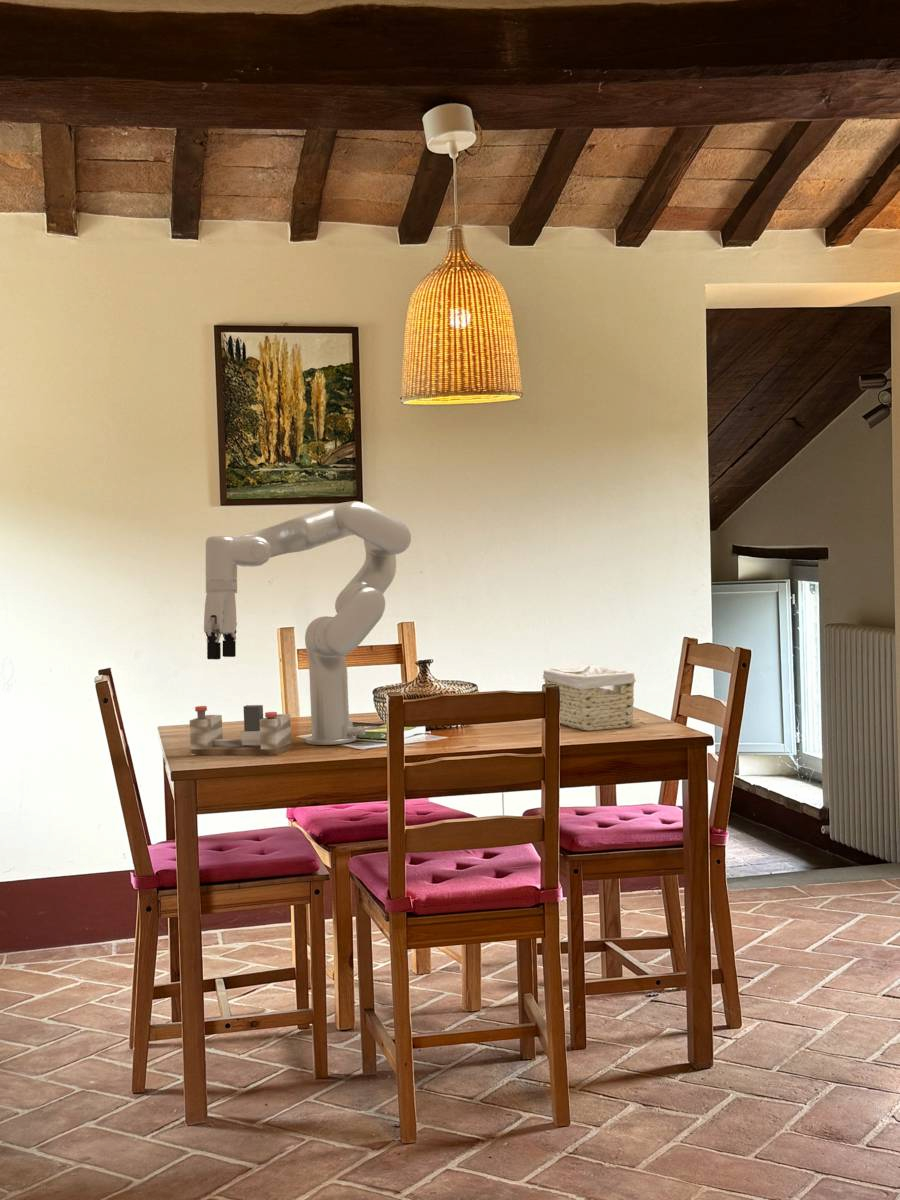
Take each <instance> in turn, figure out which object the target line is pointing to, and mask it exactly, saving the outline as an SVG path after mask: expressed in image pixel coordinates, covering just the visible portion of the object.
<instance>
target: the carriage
mask: <svg viewBox="0 0 900 1200" xmlns="http://www.w3.org/2000/svg"><path fill="white" fill-rule="evenodd" d="M263 718H264V705H263V704H247V705H244V706H243V722H244V723H243V727H244V728H243V729H244V730H241V731H240V739H241V740H242V745H261V744H260V721H259V720H261V719H263Z"/></svg>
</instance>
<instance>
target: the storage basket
mask: <svg viewBox="0 0 900 1200" xmlns="http://www.w3.org/2000/svg"><path fill="white" fill-rule="evenodd" d="M542 677H543V678H542V679H543V680H544V684H557V685H558V686H559V688H560V721H561V724H560V725H563V726H567V727H569V728H572V729H579V730H582V731H588V732H591V731H602V730H611V729H620V728H621V729H625V728H628V727H632V726H633V725H634V724H633V721H634V720H633V719H634V715H633V712H634V703H635V699H634V698H635V697H634V696H635V695H634V691H635V690H634V685H635V682H636V677H635V673H634V672H632V671H629V670H626V669H621V668H616V667H610V666H605V665H593V664H589V665H574V666H573V665H572V666H559V667H558V666H556V667H548V668H546V667H545V668H544V669H543V675H542Z"/></svg>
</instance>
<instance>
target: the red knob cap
mask: <svg viewBox="0 0 900 1200" xmlns="http://www.w3.org/2000/svg"><path fill="white" fill-rule="evenodd" d="M277 714H278V713H277V711H267V712H265V713H264V718H266V717H267V719H275V717H277Z"/></svg>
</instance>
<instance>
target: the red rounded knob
mask: <svg viewBox="0 0 900 1200" xmlns="http://www.w3.org/2000/svg"><path fill="white" fill-rule="evenodd" d="M194 709H195V712H197V713H196V714H197V715H196V716H197V718H198V720H204V719H205V715H206V712H208V707H207V706H206V705H199V706H195V707H194Z"/></svg>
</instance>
